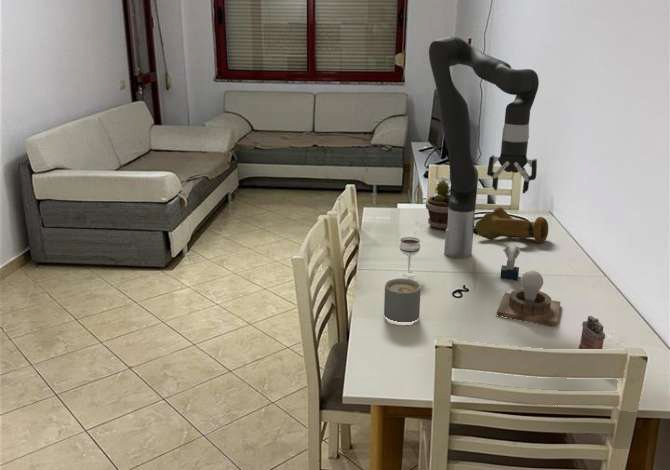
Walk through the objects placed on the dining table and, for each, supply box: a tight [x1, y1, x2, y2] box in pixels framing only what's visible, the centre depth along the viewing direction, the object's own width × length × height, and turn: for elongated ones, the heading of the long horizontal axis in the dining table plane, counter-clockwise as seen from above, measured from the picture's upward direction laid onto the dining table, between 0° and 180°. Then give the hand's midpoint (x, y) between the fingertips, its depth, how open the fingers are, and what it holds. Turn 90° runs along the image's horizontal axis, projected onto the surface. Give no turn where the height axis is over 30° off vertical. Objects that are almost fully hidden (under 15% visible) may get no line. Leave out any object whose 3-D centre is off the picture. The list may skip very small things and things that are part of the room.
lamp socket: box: [496, 288, 561, 328], centre depth 171 cm, size 16×14×4 cm
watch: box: [499, 244, 521, 282], centre depth 193 cm, size 6×8×11 cm
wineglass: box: [399, 236, 421, 273], centre depth 196 cm, size 7×7×12 cm
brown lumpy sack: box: [578, 315, 606, 350], centre depth 147 cm, size 8×3×10 cm, turn 5°
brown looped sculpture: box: [474, 207, 549, 244], centre depth 228 cm, size 18×13×22 cm
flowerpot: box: [425, 176, 451, 231], centre depth 241 cm, size 14×15×20 cm
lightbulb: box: [520, 270, 544, 303], centre depth 170 cm, size 6×6×11 cm
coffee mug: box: [383, 277, 422, 322], centre depth 168 cm, size 13×10×10 cm
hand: (509, 191), depth 182 cm, fingers open, 8 cm apart
